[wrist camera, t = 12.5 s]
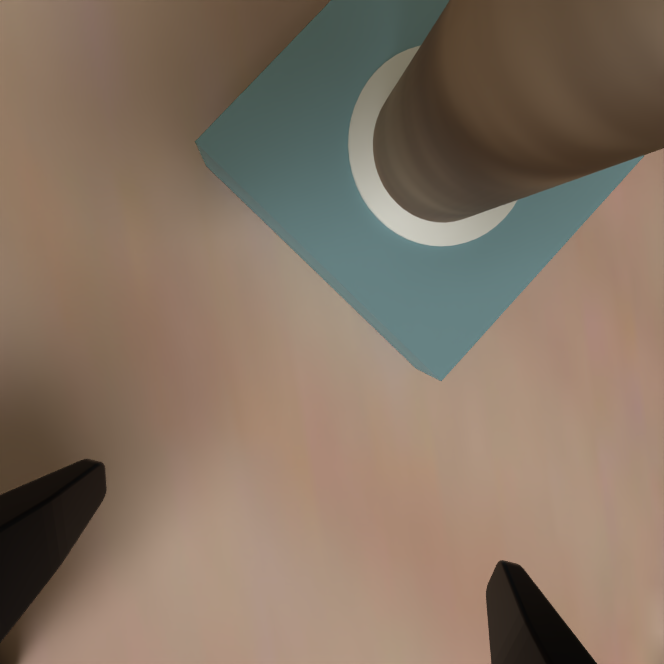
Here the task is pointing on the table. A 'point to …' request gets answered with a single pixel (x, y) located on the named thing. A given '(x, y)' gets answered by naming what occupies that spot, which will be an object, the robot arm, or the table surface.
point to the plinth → (381, 188)
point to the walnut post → (520, 102)
